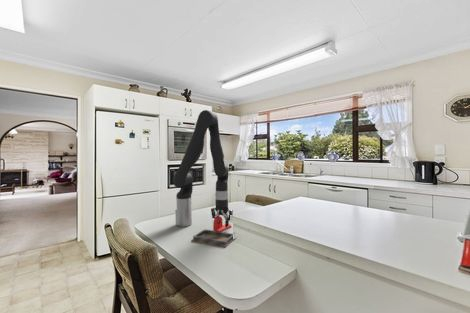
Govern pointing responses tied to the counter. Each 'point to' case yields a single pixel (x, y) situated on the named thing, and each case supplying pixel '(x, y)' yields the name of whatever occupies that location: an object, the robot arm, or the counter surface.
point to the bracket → (219, 225)
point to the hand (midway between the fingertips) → (221, 226)
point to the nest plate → (213, 238)
